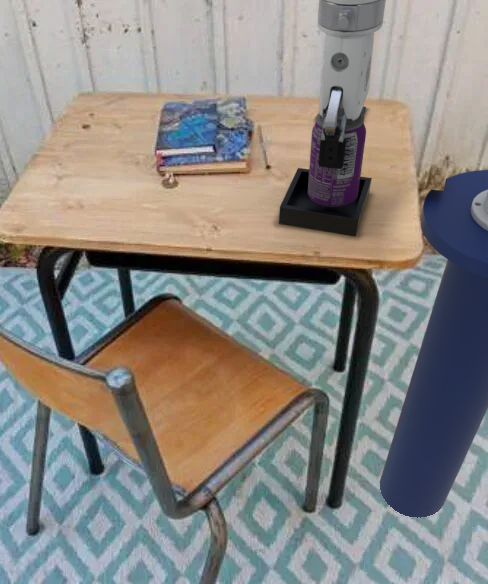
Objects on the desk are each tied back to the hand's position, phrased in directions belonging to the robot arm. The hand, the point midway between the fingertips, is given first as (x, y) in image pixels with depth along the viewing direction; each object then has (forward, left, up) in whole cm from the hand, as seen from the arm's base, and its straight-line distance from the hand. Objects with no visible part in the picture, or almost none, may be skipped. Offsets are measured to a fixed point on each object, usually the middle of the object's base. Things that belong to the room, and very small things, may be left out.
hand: (336, 151), depth 88 cm
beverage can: (0, 0, -7) cm, 7 cm away
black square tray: (+1, 0, -9) cm, 9 cm away
